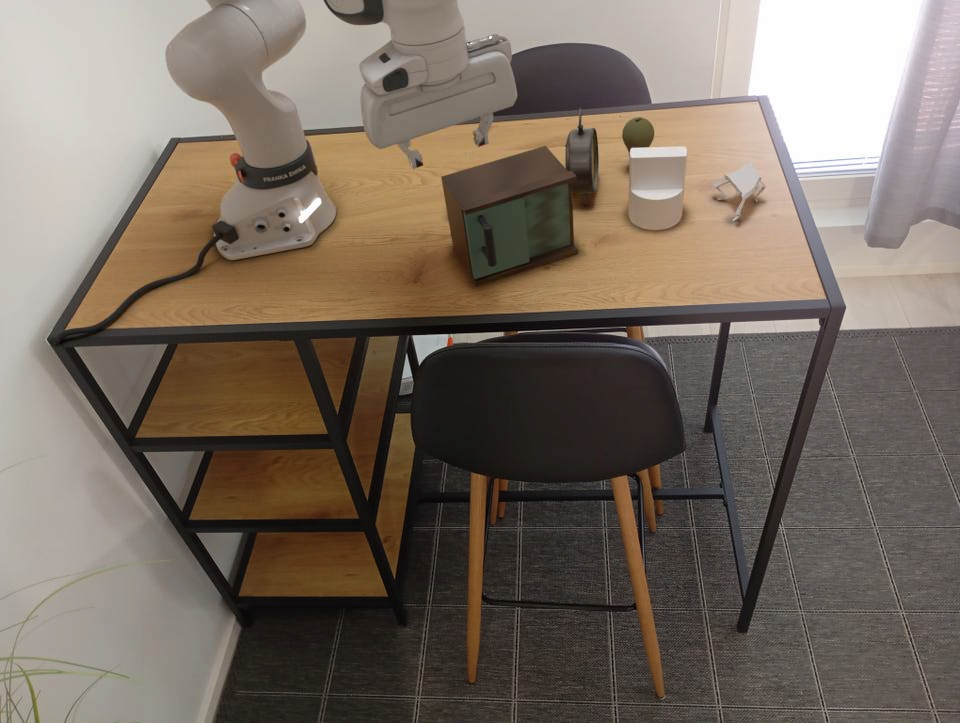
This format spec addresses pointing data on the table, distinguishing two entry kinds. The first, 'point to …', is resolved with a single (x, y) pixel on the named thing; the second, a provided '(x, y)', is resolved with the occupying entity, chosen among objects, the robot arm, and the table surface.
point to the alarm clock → (583, 159)
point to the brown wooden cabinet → (510, 180)
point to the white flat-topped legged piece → (741, 184)
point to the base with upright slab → (656, 186)
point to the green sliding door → (497, 237)
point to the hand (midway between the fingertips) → (449, 154)
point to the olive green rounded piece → (638, 133)
